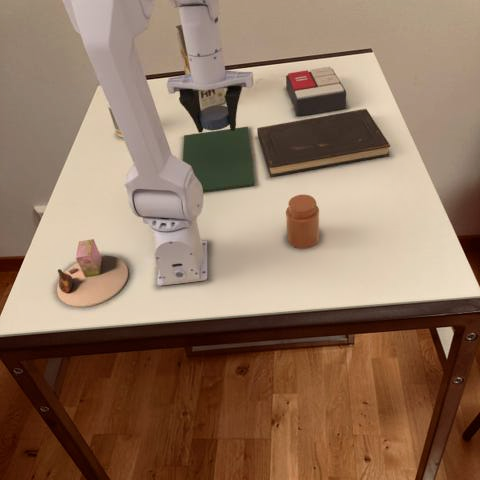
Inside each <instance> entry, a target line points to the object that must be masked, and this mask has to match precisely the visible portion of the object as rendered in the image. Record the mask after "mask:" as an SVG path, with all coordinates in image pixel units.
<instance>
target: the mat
mask: <svg viewBox="0 0 480 480" xmlns="http://www.w3.org/2000/svg"><path fill="white" fill-rule="evenodd" d="M249 133H250V132H249V126H241V127H236V128H235V131H231V130H230V128H228V129H220V130H211V131H206V132H201V133H199V132H198V133H193V134H185V135H183V150H182V161H184V162H185V163H187V164H189V165H190V166H191V167H192V169H193V172H194V175H195V176H196V177H197V178H198V180H199V182H200V183H201V185H202V189H203V193H209V192H218V191H219V192H220V191H225V190H234V189H239V188H240V189H241V188H249V187H254V186H255V178H254V169H253V160H252V152H251V151H252V150H251V142H250V134H249Z"/></svg>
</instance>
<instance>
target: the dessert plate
mask: <svg viewBox="0 0 480 480" xmlns="http://www.w3.org/2000/svg"><path fill="white" fill-rule="evenodd" d="M75 259H76V261H77V262H76V263H74V264H73V265H71V266H70V267H68V268H67V270H65V271H63V270H62V269H61V268H59V269H57V273H58V277H59V278H58V283H57V286H56V290H57V291H56V293H57V296H58V298H59V300H60V301H62V302H63V303H65V304H66V305H69V306H71V307H77V308H89V307H94V306H98V305H100V304H102V303H106V302H107V301H110V300H111V299H113V298H114V297H116V295H118V294H120V292H122V290H123V289H124V287H125V286H126V285H127V283H128V281H129V278H130V268H129V267H128V265H127V263H126V262H125V261H124V260H122V259H121V258H119V257H117V256H113V255H107V254H105V255H104V254H102V255H101V253H100V251H99V248H98V246H97V243H96V241H95V239H86V240H85V239H84V240H79V241H78V245H77V250H76V254H75Z"/></svg>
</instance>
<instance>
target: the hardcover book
mask: <svg viewBox="0 0 480 480" xmlns="http://www.w3.org/2000/svg"><path fill="white" fill-rule="evenodd" d="M256 130H257V139H258V141H259V144H260V147H261V151H262V154H263V158H264V161H265V164H266V167H267V171H268V174H269V177H270V178H274V177H279V176H285V175H291V174H296V173H302V172H308V171H314V170H318V169H324V168H330V167H335V166H341V165H347V164H353V163H358V162H365V161H369V160H376V159H381V158H386V157H387V158H388V157H390V153H389V148H391V144H390V143H389V141H388V140H387V138H386V137H385V135H384V134H383V132H382V130H381V129H380V128H379V126H378V125H377V122H376V121H375V119H374V118H373V117H372V115H371V113H370V112H369V111H368V108H362V109H356V110H355V109H354V110H350V111H344V112H339V113H333V114H328V115H322V116H316V117H310V118H305V119H300V120H294V121H288V122H281V123H278V124H277V123H276V124H272V125H266V126H261V127H257V128H256Z"/></svg>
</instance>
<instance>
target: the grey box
mask: <svg viewBox="0 0 480 480" xmlns="http://www.w3.org/2000/svg"><path fill="white" fill-rule="evenodd" d="M285 83H286V84H285V85H286V91H287V92H288V96H289V98H290V101H291V102H292V107H293V110H294V113H295V116H297V117H300V116H306V115H313V114H319V113H324V112H331V111H337V110H344V109H346V108H347V90H346V88H345V87H344V85H343V84H342V82H341V81H340V79H339V77H338V76H337V74H336V72H335V71H334V69H333V67H331V66H324V67H319V68H312V69H310V71H309V70H308V69H306V70H300V71H293V72H289V73H287V75H285Z"/></svg>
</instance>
